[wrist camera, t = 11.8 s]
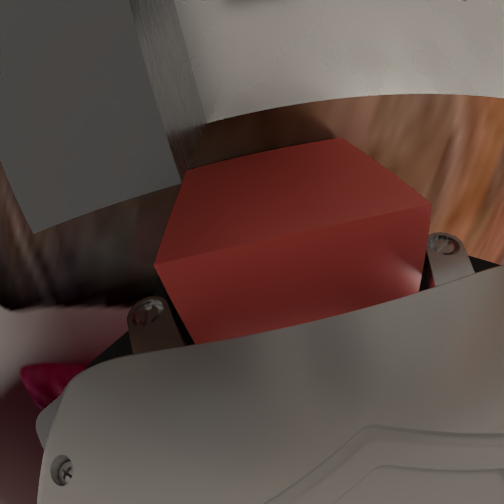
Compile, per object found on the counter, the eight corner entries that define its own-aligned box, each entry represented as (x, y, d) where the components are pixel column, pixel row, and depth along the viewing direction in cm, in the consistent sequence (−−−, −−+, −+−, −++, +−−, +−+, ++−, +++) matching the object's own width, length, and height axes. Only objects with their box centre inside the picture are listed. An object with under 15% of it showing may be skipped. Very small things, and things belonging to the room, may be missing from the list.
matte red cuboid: (349, 261, 14) (400, 361, 9) (227, 288, 14) (230, 402, 9) (341, 137, 10) (431, 204, 6) (187, 170, 11) (153, 264, 6)
